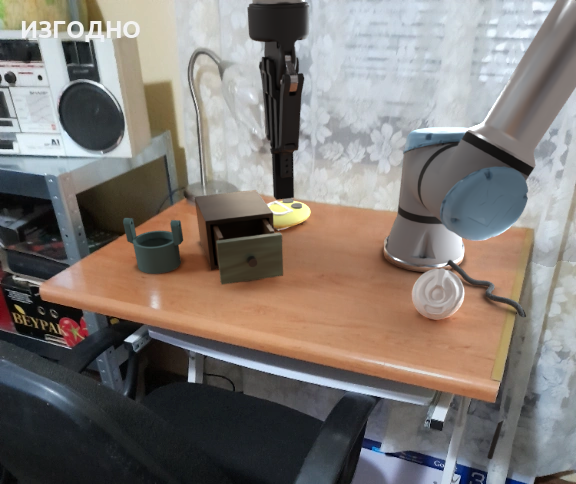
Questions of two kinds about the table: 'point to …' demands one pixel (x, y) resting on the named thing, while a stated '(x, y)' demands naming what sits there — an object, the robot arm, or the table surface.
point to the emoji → (288, 213)
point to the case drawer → (247, 250)
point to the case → (227, 214)
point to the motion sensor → (438, 294)
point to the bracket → (156, 247)
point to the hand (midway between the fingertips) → (283, 196)
